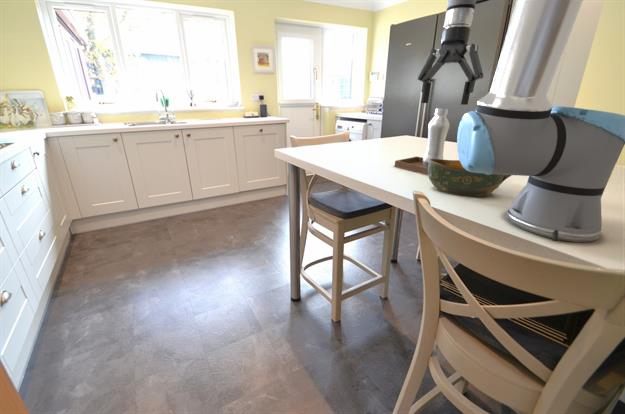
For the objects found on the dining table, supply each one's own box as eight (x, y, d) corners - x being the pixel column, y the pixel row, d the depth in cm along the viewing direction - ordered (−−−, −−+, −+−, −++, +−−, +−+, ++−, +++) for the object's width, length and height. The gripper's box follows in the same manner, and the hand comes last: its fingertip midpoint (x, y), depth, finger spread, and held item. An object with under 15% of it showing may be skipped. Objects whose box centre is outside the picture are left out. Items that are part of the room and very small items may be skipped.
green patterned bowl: (502, 207, 68) (514, 166, 65) (421, 189, 81) (427, 154, 77) (511, 194, 78) (521, 158, 74) (436, 180, 90) (442, 148, 86)
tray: (450, 180, 89) (451, 173, 88) (394, 166, 105) (395, 160, 104) (470, 174, 97) (472, 167, 96) (415, 162, 113) (416, 156, 112)
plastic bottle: (443, 170, 97) (456, 109, 90) (423, 169, 98) (433, 109, 91) (439, 166, 103) (450, 108, 96) (419, 165, 104) (429, 108, 97)
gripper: (508, 22, 77) (489, 105, 85) (426, 35, 96) (416, 102, 104) (496, 18, 73) (477, 105, 81) (413, 32, 91) (404, 102, 99)
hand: (443, 103), depth 92 cm, fingers open, 13 cm apart
